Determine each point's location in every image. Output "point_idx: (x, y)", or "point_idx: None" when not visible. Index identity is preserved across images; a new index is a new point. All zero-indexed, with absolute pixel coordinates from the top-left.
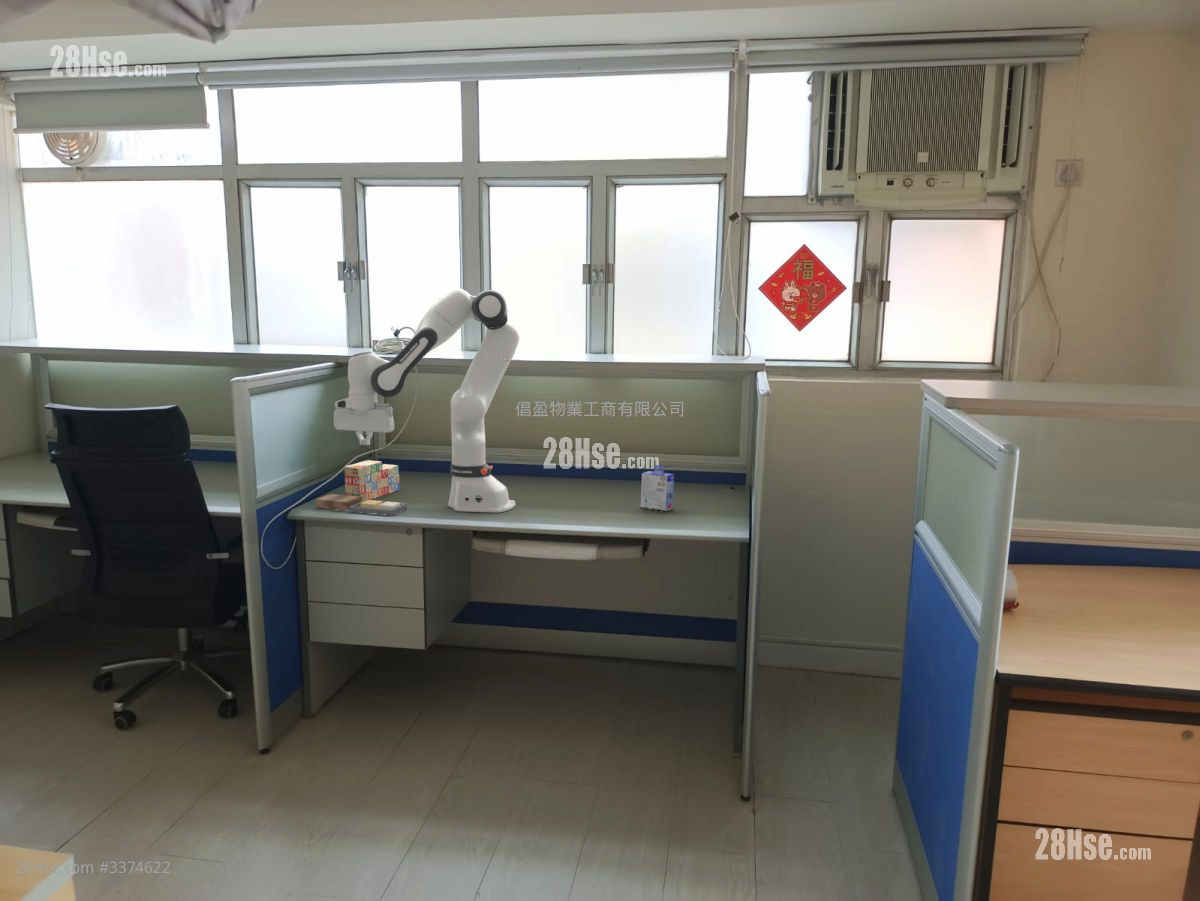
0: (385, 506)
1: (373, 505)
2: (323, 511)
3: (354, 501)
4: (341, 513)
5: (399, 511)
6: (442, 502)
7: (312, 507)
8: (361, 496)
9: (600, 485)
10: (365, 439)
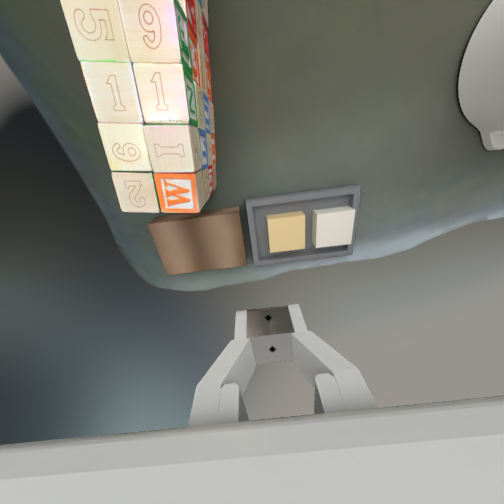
0: (332, 245)
1: (302, 248)
2: (205, 274)
3: (243, 241)
4: (245, 271)
5: None
6: (432, 62)
7: None
8: (214, 183)
9: None
10: (285, 354)
